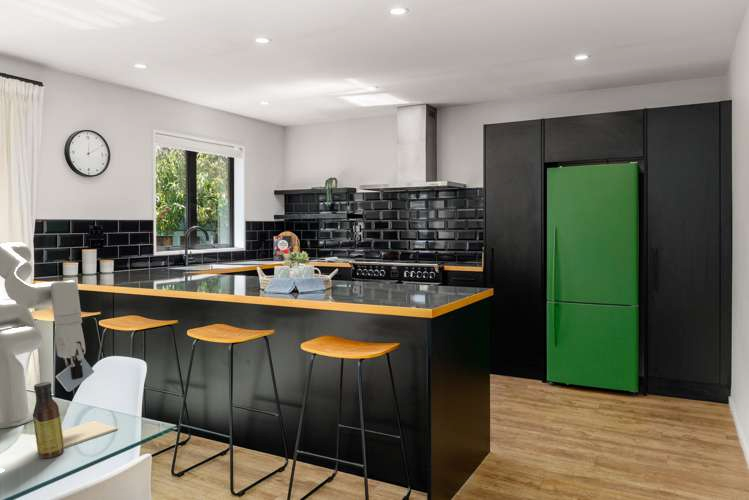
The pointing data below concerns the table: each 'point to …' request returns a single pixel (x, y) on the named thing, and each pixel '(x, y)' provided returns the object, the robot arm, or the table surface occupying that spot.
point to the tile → (66, 376)
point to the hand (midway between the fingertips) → (75, 377)
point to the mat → (85, 432)
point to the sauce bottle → (47, 422)
